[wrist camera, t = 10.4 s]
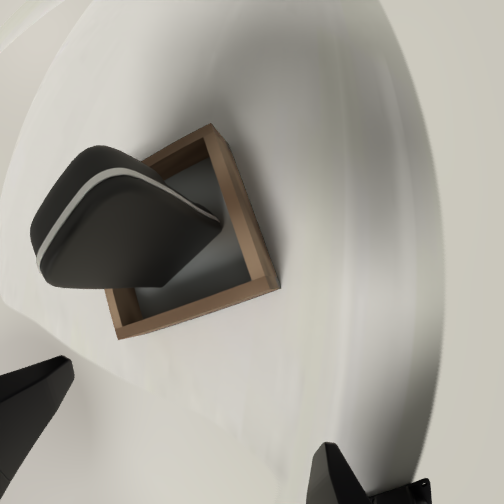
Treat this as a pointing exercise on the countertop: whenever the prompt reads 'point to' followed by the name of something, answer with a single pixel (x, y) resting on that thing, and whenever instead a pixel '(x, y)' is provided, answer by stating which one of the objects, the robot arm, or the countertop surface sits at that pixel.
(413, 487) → the robot arm
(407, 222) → the countertop surface
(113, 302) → the wooden tray
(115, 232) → the battery charger
